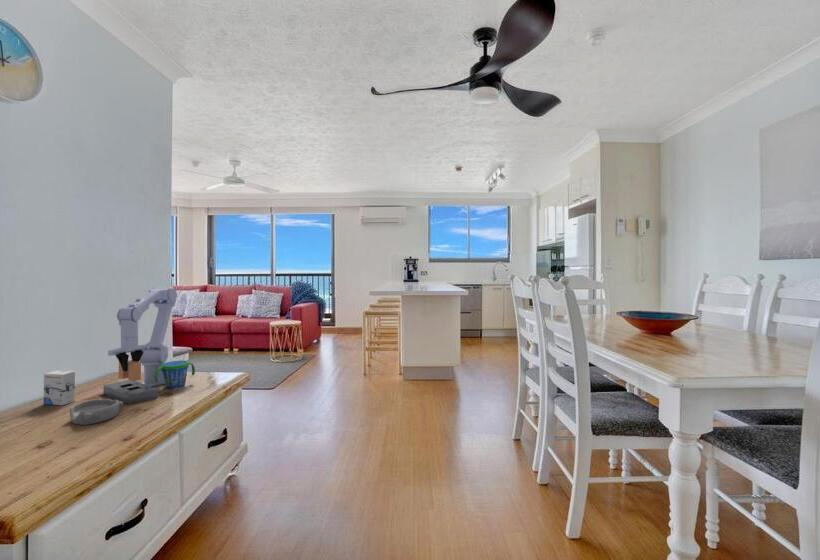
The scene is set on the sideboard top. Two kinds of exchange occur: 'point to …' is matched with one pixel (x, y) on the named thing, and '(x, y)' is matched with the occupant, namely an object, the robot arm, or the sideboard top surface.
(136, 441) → the sideboard top surface
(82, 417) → the dish
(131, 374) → the tan rectangular block
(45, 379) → the ink box
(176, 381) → the snack cup
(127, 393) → the grey slotted block
